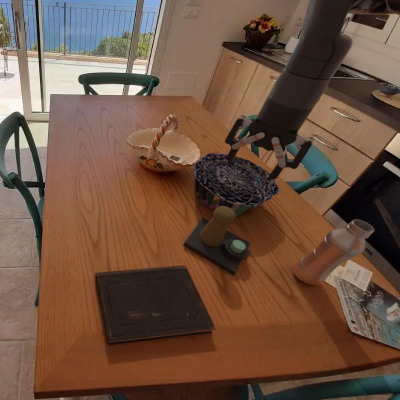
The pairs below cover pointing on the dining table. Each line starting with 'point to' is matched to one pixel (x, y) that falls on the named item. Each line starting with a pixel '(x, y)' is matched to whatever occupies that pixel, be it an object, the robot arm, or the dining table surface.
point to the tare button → (237, 246)
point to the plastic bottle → (333, 252)
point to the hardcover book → (151, 305)
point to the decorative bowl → (232, 183)
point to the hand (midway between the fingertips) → (249, 170)
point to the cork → (217, 226)
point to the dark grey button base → (217, 249)
